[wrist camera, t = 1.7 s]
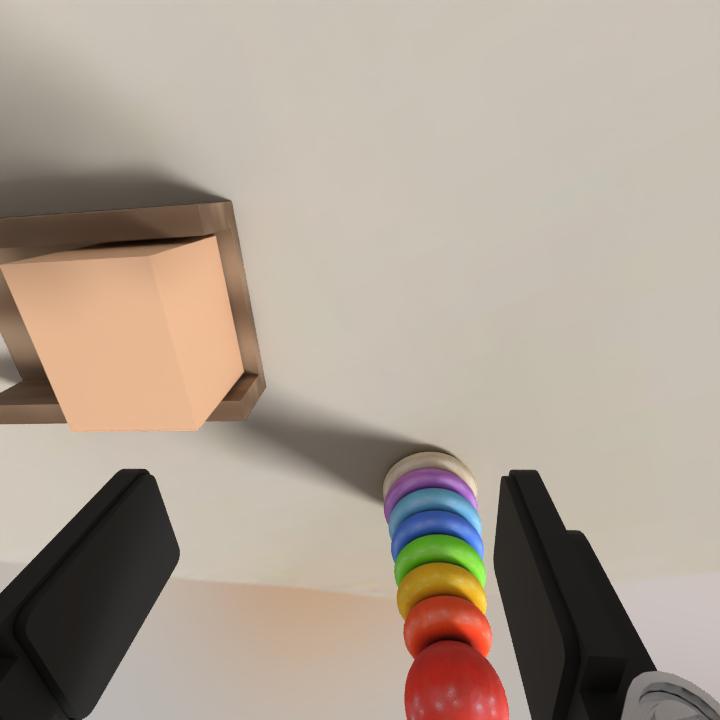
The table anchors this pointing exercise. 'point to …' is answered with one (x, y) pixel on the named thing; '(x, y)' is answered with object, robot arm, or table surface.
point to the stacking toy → (442, 589)
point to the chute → (83, 229)
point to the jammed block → (131, 331)
